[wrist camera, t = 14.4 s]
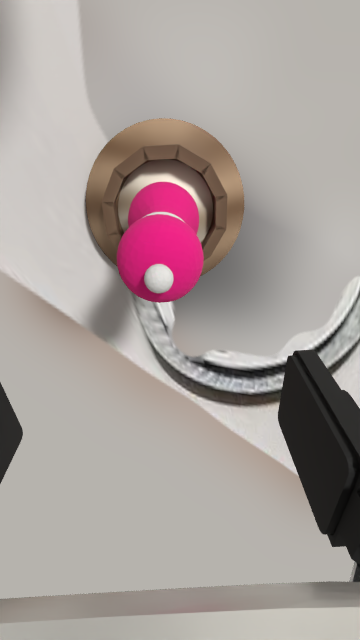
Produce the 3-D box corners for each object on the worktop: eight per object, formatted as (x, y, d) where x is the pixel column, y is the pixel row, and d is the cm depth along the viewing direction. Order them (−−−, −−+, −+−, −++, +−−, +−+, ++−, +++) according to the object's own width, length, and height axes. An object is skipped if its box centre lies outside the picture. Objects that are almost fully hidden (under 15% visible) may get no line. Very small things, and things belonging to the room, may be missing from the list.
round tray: (72, 123, 32) (63, 122, 29) (247, 114, 32) (254, 112, 29) (103, 283, 41) (98, 294, 38) (238, 276, 41) (242, 286, 38)
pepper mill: (182, 251, 37) (191, 349, 20) (124, 229, 36) (82, 315, 19) (206, 192, 34) (242, 250, 17) (144, 165, 32) (115, 199, 15)
